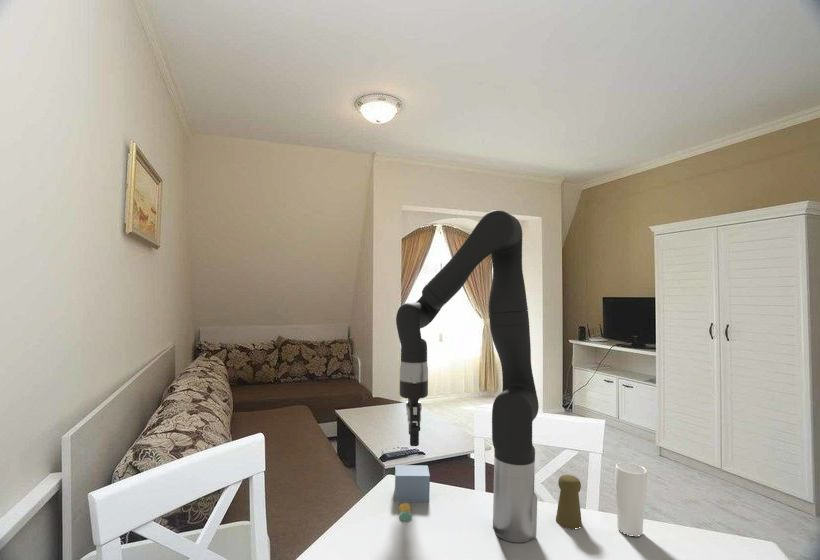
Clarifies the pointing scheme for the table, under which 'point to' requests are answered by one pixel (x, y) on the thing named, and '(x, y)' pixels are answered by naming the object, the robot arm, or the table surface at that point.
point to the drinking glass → (630, 497)
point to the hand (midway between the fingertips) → (413, 439)
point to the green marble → (405, 516)
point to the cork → (569, 502)
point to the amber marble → (404, 507)
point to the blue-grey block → (412, 483)
